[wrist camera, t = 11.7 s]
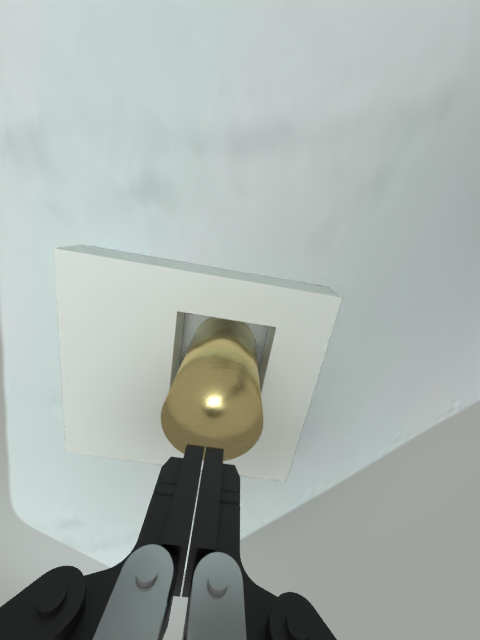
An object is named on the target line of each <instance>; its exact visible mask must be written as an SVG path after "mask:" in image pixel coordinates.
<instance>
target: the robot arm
mask: <svg viewBox="0 0 480 640" xmlns="http://www.w3.org/2000/svg"><path fill="white" fill-rule="evenodd" d="M204 447H205V446H200V445H192V444H187V446H186V449H185V453H184V457H183V458H179V457H170V458H169V459H168V460H167V462H166V463H165V464H164V465H163V466H162V468H161V471H160V474H159V477H158V480H157V483H156V486H155V489H154V493H153V495H152V498H151V501H150V504H149V508H148V511H147V514H146V517H145V520H144V523H143V526H142V529H141V532H140V535H139V538H138V540H137V543H136V545H135V547H134V549H133V550H132V551H131V553H130V554H129V555H128V556H127V557H126V558H125V559H124V560H123V561H122V562H120V563H119V564H117V565H116V566H114V567H112V568H109V569H107V570H103V571H100V572H96V573H92V574H89V575H85V576H83V574H82V572H81V571H80V570H79V569H77V568H75V567H73V566H61V567H57V568H55V569H52V570H50V571H48V572H47V573H45V574H44V575H42V576H41V577H40V578H38V579H37V580H36V581H34V582H33V583H32V584H30V585H29V586H28V587H26V588H25V589H24V590H23V591H21V592H20V593H19V594H17V595H16V596H15V597H13V598H12V599H11V600H10V601H8V602H7V603H5V604H4V605H3V606H1V607H0V640H163V637H164V634H165V632H166V629H167V626H168V622H169V616H170V610H171V605H172V600H173V596H180V592H181V586H182V580H183V574H184V568H185V562H186V556H187V550H188V544H189V538H190V532H191V526H192V520H193V514H194V508H195V502H196V496H197V490H198V484H199V478H200V472H201V466H202V460H203V453H204ZM223 454H224V449H222V448H215V447H208V446H206V451H205V457H204V463H203V469H202V475H201V481H200V487H199V494H198V500H197V506H196V512H195V519H194V525H193V531H192V537H191V544H190V550H189V556H188V562H187V569H186V575H185V581H184V587H183V594H182V597H189V598H188V605H187V612H186V619H185V625H184V631H183V638H182V640H336V638H335V637H334V635H333V634H332V633H331V631H330V630H329V628H328V627H327V625H326V624H325V623H324V622H323V620H322V618H321V617H320V616H319V614H318V613H317V611H316V610H315V609H314V607H313V606H312V605H311V603H310V602H309V601H308V600H307V599H306V598H304V597H302V596H301V595H299V594H297V593H293V592H287V593H283V594H281V595H280V596H279V597H277V596H275V595H273V594H271V593H270V592H268V591H266V590H264V589H263V588H261V587H259V586H258V585H256V584H255V583H254V582H253V581H252V580H251V579H250V578H249V577H248V575H247V574H246V572H245V570H244V568H243V566H242V563H241V559H240V476H239V474H238V471H237V469H236V467H235V465H231V464H224V463H223Z"/></svg>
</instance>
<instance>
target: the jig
mask: <svg viewBox="0 0 480 640" xmlns="http://www.w3.org/2000/svg"><path fill="white" fill-rule="evenodd" d="M54 258H55V275H56V292H57V309H58V326H59V343H60V360H61V378H62V395H63V412H64V429H65V446H66V452H71V453H78V454H85V455H93V456H100V457H107V458H115V459H122V460H130V461H137V462H144V463H152V464H159V465H164V464H165V463H166V462H167V460H168V459H169V458H170V457H179V458H183V457H184V454H183V453H181V452H180V451H178V450H177V449H176V448H175V447H174V446H173V445H172V444H171V443H170V442H169V441H168V439H167V438H166V436H165V434H164V432H163V429H162V426H161V410H162V407H163V404H164V402H165V400H166V397H167V395H168V393H169V391H170V388H171V386H172V384H173V382H174V379H175V377H176V375H177V373H178V370H179V362H180V352H181V343H182V334H183V324H184V315H185V312H186V313H192V314H198V315H204V316H210V317H216V318H222V319H229V320H235V321H241V322H247V323H253V324H259V325H265V326H269V328H268V333H267V337H266V342H265V346H264V351H263V355H262V360H261V364H260V369H259V382H260V391H261V401H262V410H263V430H262V433H261V436H260V438H259V440H258V441H257V442H256V444H255V445H254V446H253V447H252V448H251V449H250V450H249V451H248V452H246V453H245V454H243V455H241V456H239V457H237V458H234V459H231V460H227V461H223V463H224V464H231V465H235V467H236V469H237V471H238V474H239V475H240V476H248V477H255V478H262V479H270V480H277V481H285V482H286V480H287V477H288V473H289V470H290V467H291V464H292V460H293V457H294V454H295V451H296V447H297V444H298V441H299V438H300V434H301V431H302V428H303V425H304V421H305V418H306V415H307V411H308V408H309V405H310V402H311V398H312V395H313V392H314V389H315V385H316V382H317V379H318V376H319V372H320V369H321V366H322V363H323V359H324V356H325V353H326V350H327V346H328V343H329V340H330V337H331V333H332V330H333V327H334V323H335V320H336V317H337V314H338V310H339V307H340V304H341V301H342V297H341V296H340V295H338V294H337V293H335V292H334V291H333V290H331V289H330V288H328V287H323V286H318V285H312V284H306V283H300V282H294V281H289V280H283V279H277V278H271V277H265V276H260V275H254V274H248V273H242V272H236V271H231V270H225V269H219V268H213V267H207V266H202V265H196V264H190V263H184V262H178V261H173V260H167V259H161V258H155V257H149V256H144V255H138V254H132V253H126V252H120V251H115V250H109V249H103V248H97V247H91V246H86V245H77V246H68V247H60V248H54ZM203 463H204V461H202V466H201V470H202V469H203Z"/></svg>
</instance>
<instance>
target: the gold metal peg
mask: <svg viewBox="0 0 480 640" xmlns="http://www.w3.org/2000/svg"><path fill="white" fill-rule="evenodd" d="M161 426H162V429H163V432H164V434H165V436H166V438H167V439H168V441H169V442H170V443H171V444H172V445H173V446H174V447H175V448H176V449H177V450H178V451H180V452H181V453H183V454H184V453H185V449H186V446H187V444H192V445H200V446H205V447H204V453H203V460H202V461H204V457H205V451H206V446H208V447H215V448H222V449H224V454H223V461H227V460H231V459H234V458H237V457H239V456H241V455H243V454H245V453H246V452H248V451H249V450H250V449H251V448H252V447H253V446H254V445H255V444H256V442H257V441H258V440H259V438H260V436H261V433H262V430H263V410H262V401H261V391H260V382H259V373H258V364H257V354H256V345H255V338H254V335H253V333H252V331H251V329H250V328H249V327H248V326H247V325H246V324H245V323H244V322H241V321H235V320H229V319H222V318H216V317H212V318H210V319H208V320H206V321H204V322H203V323H202V324H201V325H200V326H199V327H198V329H197V330H196V332H195V334H194V337H193V339H192V341H191V343H190V346H189V348H188V350H187V352H186V355H185V357H184V359H183V361H182V364H181V366H180V368H179V370H178V373H177V375H176V377H175V379H174V382H173V384H172V386H171V388H170V391H169V393H168V395H167V397H166V400H165V402H164V404H163V407H162V410H161Z"/></svg>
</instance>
